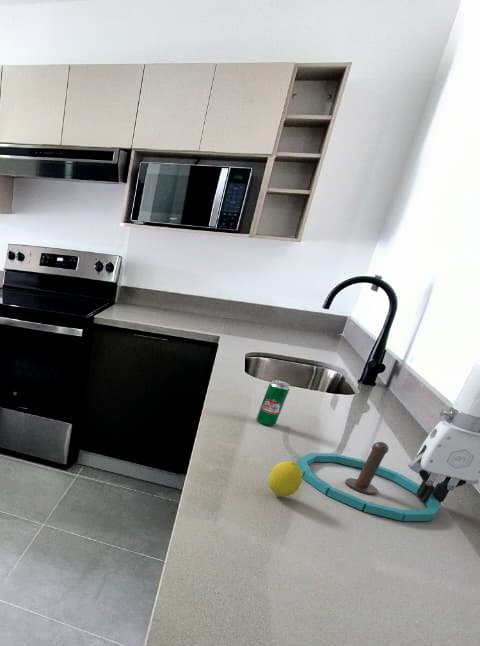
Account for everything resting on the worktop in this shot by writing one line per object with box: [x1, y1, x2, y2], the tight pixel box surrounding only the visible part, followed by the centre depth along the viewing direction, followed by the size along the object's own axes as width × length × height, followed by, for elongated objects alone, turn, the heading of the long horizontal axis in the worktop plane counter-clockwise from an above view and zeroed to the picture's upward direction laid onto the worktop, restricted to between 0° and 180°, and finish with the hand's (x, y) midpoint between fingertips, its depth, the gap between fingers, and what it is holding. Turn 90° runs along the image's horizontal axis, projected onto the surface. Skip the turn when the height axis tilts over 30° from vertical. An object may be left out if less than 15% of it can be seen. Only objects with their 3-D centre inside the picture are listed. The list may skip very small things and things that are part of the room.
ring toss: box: [344, 441, 390, 496], centre depth 107 cm, size 6×6×11 cm
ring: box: [296, 452, 442, 522], centre depth 109 cm, size 26×26×2 cm
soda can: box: [255, 379, 290, 427], centre depth 137 cm, size 5×5×12 cm
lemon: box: [268, 460, 303, 498], centre depth 99 cm, size 6×6×8 cm
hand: (427, 500), depth 106 cm, fingers closed on ring, 1 cm apart
